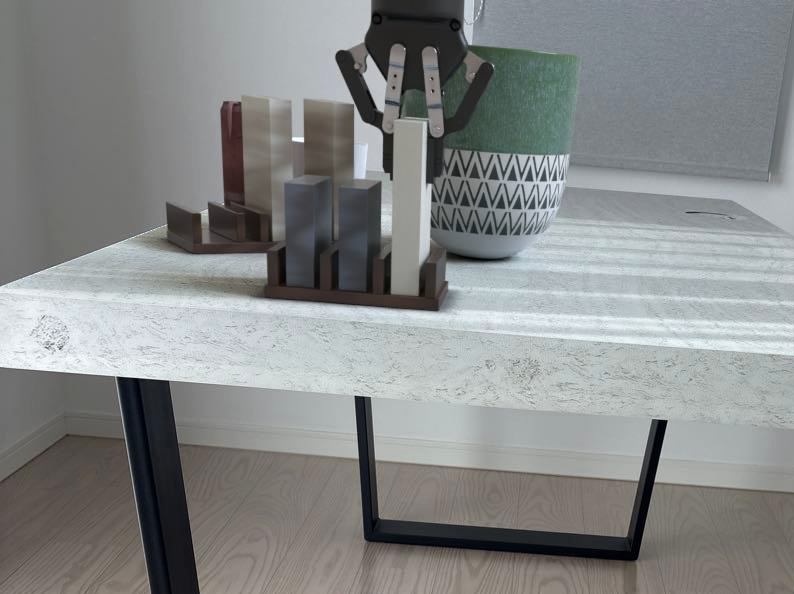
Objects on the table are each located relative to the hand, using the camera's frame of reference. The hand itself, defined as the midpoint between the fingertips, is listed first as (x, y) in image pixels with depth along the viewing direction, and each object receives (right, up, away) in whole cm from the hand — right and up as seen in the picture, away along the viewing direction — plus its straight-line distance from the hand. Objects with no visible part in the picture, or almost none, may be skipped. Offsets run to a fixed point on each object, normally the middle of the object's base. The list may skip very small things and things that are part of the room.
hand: (413, 180), depth 91 cm
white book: (-1, -8, +4) cm, 9 cm away
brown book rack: (-19, +1, +25) cm, 31 cm away
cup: (-16, +9, +42) cm, 46 cm away
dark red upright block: (-23, +6, +34) cm, 42 cm away
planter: (+4, +1, +29) cm, 29 cm away
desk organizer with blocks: (-5, -9, +4) cm, 11 cm away
